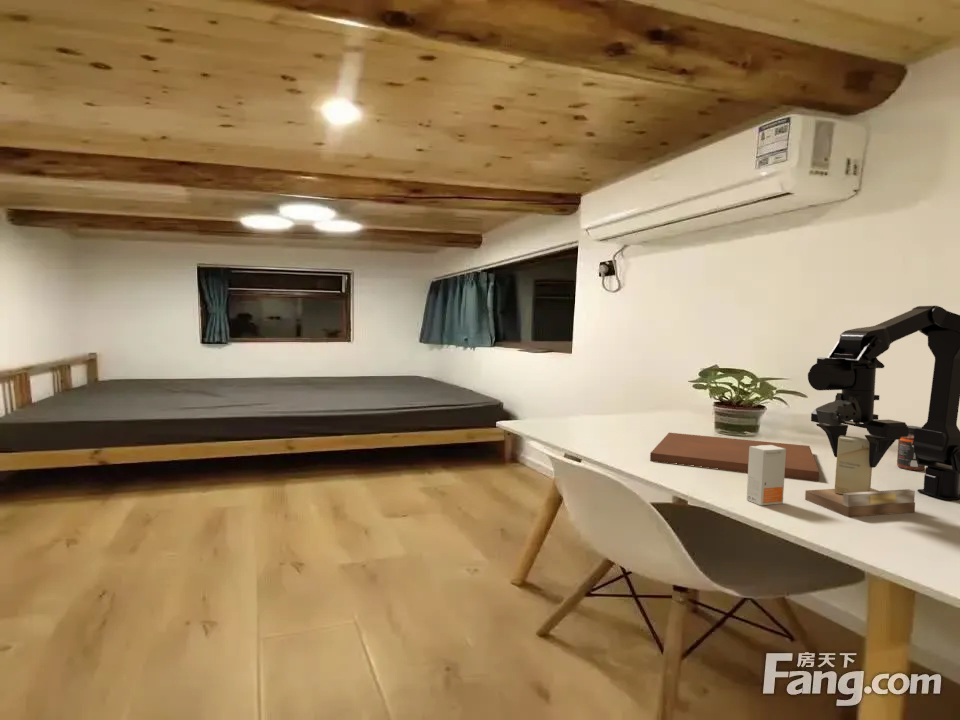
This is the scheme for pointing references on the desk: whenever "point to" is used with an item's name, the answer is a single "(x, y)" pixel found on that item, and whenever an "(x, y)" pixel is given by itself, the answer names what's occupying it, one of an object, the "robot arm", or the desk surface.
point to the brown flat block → (864, 501)
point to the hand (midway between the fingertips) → (854, 462)
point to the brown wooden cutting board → (730, 454)
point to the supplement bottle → (908, 452)
